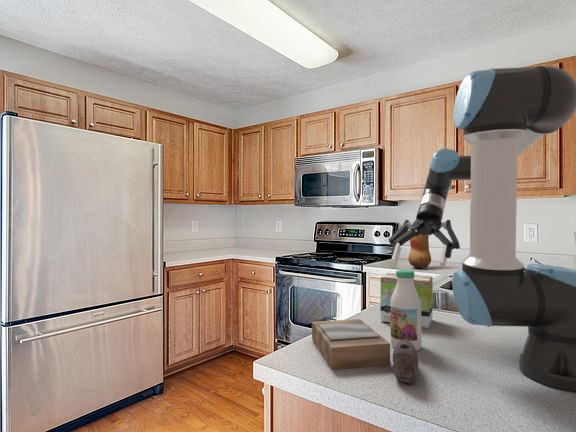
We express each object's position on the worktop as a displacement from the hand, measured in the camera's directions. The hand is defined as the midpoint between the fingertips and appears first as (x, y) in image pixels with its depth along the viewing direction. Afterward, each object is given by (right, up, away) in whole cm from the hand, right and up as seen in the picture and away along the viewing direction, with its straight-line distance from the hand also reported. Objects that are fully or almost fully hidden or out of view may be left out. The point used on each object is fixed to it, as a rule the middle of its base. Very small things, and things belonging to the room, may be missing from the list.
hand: (417, 264), depth 103 cm
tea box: (+2, -21, +14) cm, 25 cm away
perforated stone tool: (-11, -21, -24) cm, 34 cm away
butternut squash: (+46, -20, +124) cm, 134 cm away
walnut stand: (-22, -21, -11) cm, 32 cm away
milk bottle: (-6, -21, -9) cm, 23 cm away
